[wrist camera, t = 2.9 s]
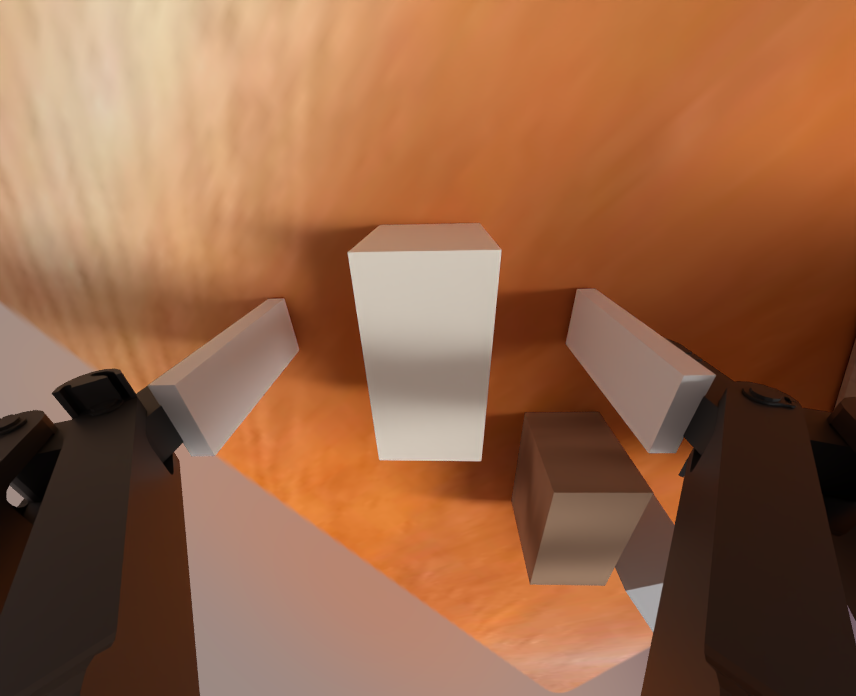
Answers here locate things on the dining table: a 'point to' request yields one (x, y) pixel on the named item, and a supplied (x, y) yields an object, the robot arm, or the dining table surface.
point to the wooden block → (849, 379)
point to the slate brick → (647, 560)
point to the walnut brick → (574, 498)
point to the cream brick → (427, 336)
